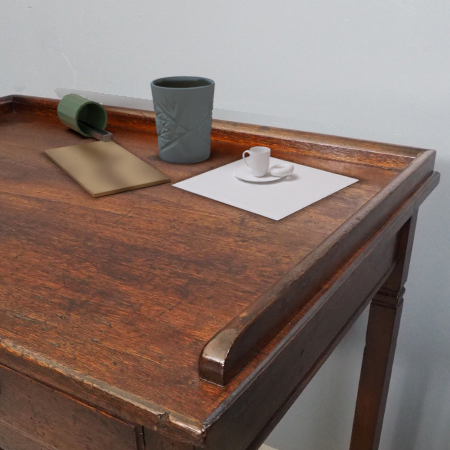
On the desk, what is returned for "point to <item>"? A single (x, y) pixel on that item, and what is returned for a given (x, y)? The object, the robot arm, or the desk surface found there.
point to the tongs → (95, 131)
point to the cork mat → (105, 168)
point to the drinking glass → (183, 117)
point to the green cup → (81, 112)
